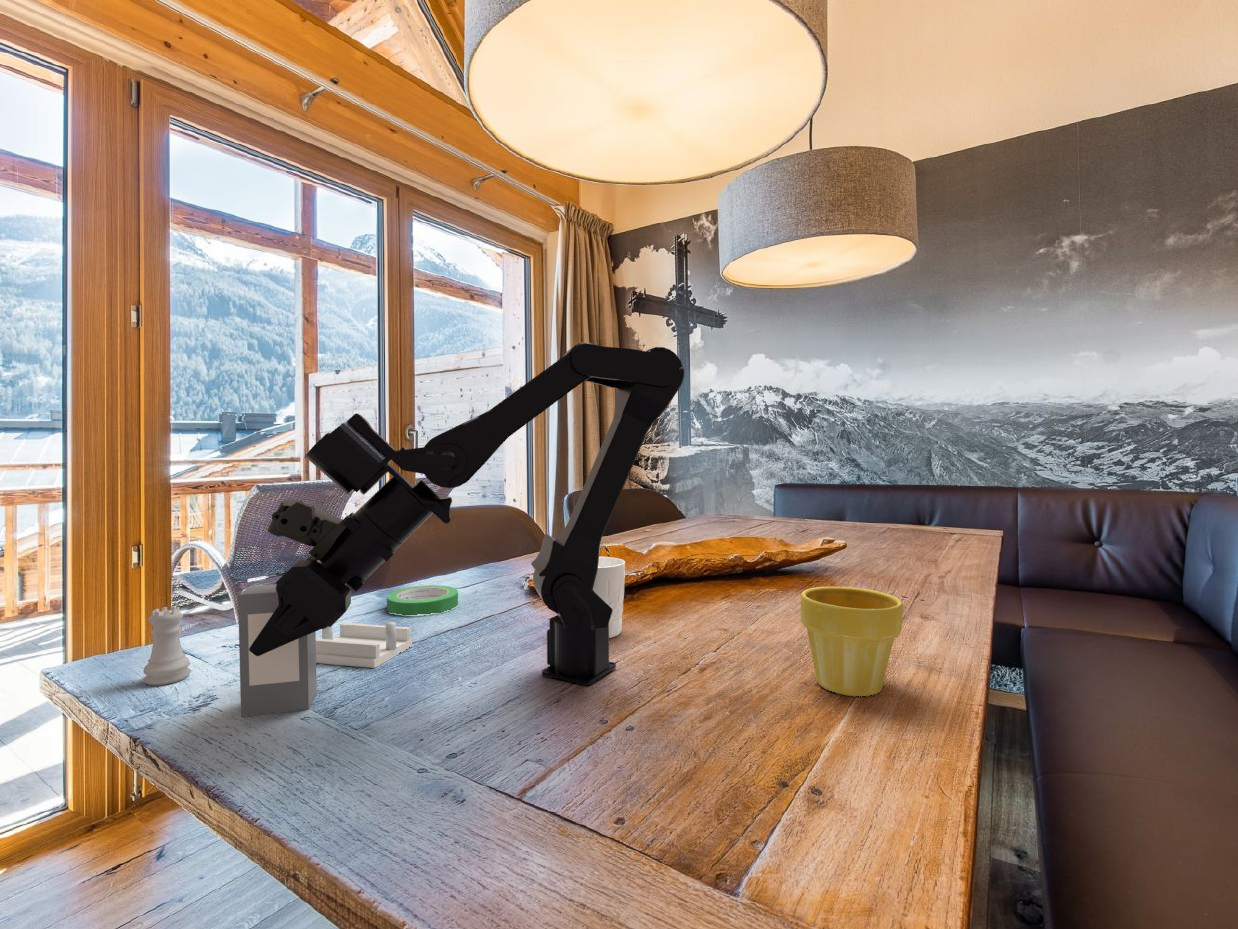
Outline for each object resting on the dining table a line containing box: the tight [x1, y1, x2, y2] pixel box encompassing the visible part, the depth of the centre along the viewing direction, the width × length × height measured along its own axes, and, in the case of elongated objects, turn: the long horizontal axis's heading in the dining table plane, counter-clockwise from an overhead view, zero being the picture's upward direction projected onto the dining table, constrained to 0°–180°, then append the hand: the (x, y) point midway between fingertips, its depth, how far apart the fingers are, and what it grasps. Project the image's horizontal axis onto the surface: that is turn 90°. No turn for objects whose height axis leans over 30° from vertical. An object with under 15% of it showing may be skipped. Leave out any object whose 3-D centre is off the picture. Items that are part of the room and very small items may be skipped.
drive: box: [237, 583, 318, 718], centre depth 62 cm, size 6×4×12 cm, turn 106°
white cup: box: [593, 556, 626, 639], centre depth 86 cm, size 8×8×10 cm
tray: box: [316, 621, 413, 669], centre depth 77 cm, size 10×8×4 cm
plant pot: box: [800, 586, 904, 698], centre depth 67 cm, size 10×10×10 cm
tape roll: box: [386, 584, 459, 615], centre depth 100 cm, size 11×11×3 cm
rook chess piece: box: [142, 605, 192, 687], centre depth 69 cm, size 4×4×8 cm
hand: (266, 638), depth 62 cm, fingers open, 9 cm apart
